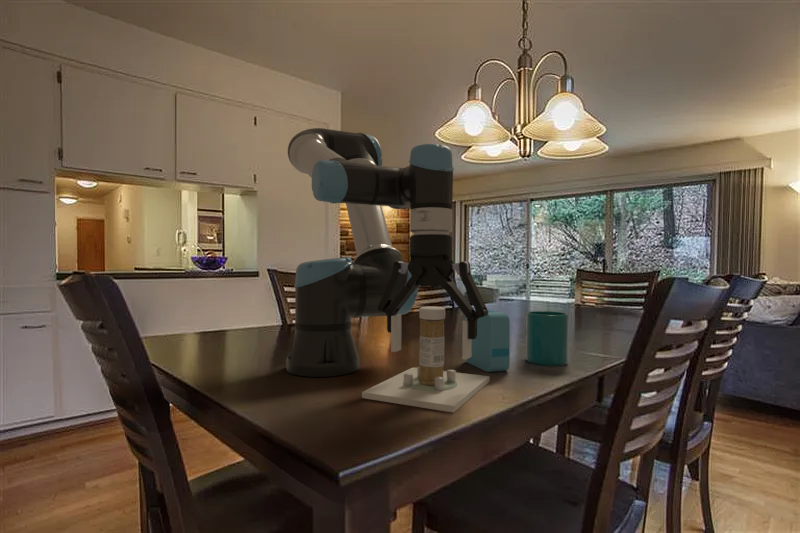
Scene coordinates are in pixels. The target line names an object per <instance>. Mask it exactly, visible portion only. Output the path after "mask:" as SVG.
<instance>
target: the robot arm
mask: <svg viewBox="0 0 800 533" xmlns="http://www.w3.org/2000/svg"><path fill="white" fill-rule="evenodd" d="M409 155H410V156H409V160H408V163H409V165H408V166H406V167H396V166H387V165H386V166H385V165H383V158H382V156H383V151H382V147H381V144H380V143H379V140H378V139H377V138H376V137H375V136H373V135H371V134H366V133H364V132H350V131H344V130H336V129H330V128H329V129H328V128H322V127H321V128H320V127H314V128H308V129H307V128H306V129H305V130H302V131H299V132H297V133H296V134H295V135H294V136H293V137H291V139H290V140H289V143H288V146H287V157H288V160H289V163H291V165H292V166H293V167H294V169H296V170H297V171H299V172H300V173H303V174H306V175H308V176H309V177H310V178H311V191H312V195H313V197H314V199H316V200H317V201H319V202H326V203H330V204H333V205H334V204H345V205H346V206H345V207H346V212H347V216H348V221H349V223H350V229H351V235H352V238H353V243H354V247H355V252H356V257H355V258H354V260H352V257H350V256H344V257H335V258H334V257H333V258H326V259H325V258H324V259H317V260H310V261H304V262H301V263H299V264H298V265H297V267H296V269H295V281H294V285H293V286H294V288H295V289H294V290H295V291H294V294H295V297H294V298H295V300H294V302H295V303H294V304H295V306H294V307H295V308H294V309H295V310H294V317H295V318H294V319H295V320H294V322H295V326H294V336H293V339H292V341H291V345H290V347H289V348H290V349H289V352H288V356H287V357H286V372H288V373H289V374H291V375H295V376H301V377H310V378H311V377H312V378H315V377H316V378H317V377H319V378H320V377H323V378H325V377H336V376H342V375H348V374H351V373H354V372H356V371H358V370H359V369H360V355H359V352H358V349H357V347H356V343H355V340H354V336H353V334H352V318H365V317H367V318H368V317H371V318H372V317H386V330H387V333H390V352H391V353H396V352H399V351H401V350H402V315H406V314H408V313H409V312H410V311H411V310H412V309H413V307H414V306H415V304H416V301H417V297H418V293H419V292H418V291H419V288H421V287H424V288H427V287H431V288H441V287H442V289H443V290H445V292H447V294H448V295H449V296H450V298H451V300H452V301H453V302H454V303H455V304H456V306H457V308H459V309H460V311H461V312H462V314H463V315H464V316H466V317H467V319H466V320H465V319H463V320H462V339H461V340H462V341H461V342H462V343H461V344H462V347H461V348H462V350H461V351H462V354H461V355H462V360H465V361H466V360H467V359H468V358H470V357H472V339H475V338H476V337H477V320H478V319H479V318H481V317H484V316H486V315H488V310H489V309H488V307H487V306H486V303H485V302H484V300H483V297H482V294H481V292H480V290H479V289H478V286H477V285H476V282H475V280H474V278H473V276H472V272H471V271H472V270H471V263H470V262H469V261H460V262H456V263H454V261H453V237H452V236H451V235H450V233H452V232H453V192H454V191H453V190H454V189H453V187H454V186H453V184H454V167H453V152H452V149H451V148H450V147H449V146H446V145H444V144H439V143H423V144H418V145H416V146H413V147H412V149H411V150H410V154H409ZM383 207H390V208H391V209H393V210H406V209H408V210H409V232H410V233H412V235H410V237H409V262H404V259H403V256H402V253H401V252H400V250H398V249H397V248H395V247H393V244H392V241H391V240H392V239H391V236H390V232H389V229H388V225H387V221H386V218H385V217H386V216H385V214H384V210H383ZM453 272H456V274H457V275H459V276H460V279H461V283H462V284H463V286H464V288H465V290H466V293H467V295H468V297H469V299H470V302H471V303H470V302H469V301H468V299H467V298H466V297H465V295H463V293H462V291H461V290H460V289H459V288H458V287H457V286H456V283H455V281H454V280H453V278H452V277H451V275H452V274H453ZM471 304H472V305H471ZM475 310H476V311H475Z"/></svg>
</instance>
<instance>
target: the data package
mask: <svg viewBox="0 0 800 533" xmlns="http://www.w3.org/2000/svg"><path fill="white" fill-rule="evenodd" d="M474 310H475V309H474ZM487 310H488V315H486V316H484V317H481V318H479V319H478V320H477V337H476V338H475V339H472V357H470V358H468V359H467V360H465V361H466V363H467V364H469V363H470V364H469V365H471V364H472V366H474V367H476V368H478V369H480V370H481V371H484V372H486V373H496V372H498V373H499V372H507V371H508V370H509V368H510V329H511V328H510V327H511V326H510V325H511V323H510V317H509V315H508V313H504V312H498V311H494V310H489V309H487ZM475 311H476V310H475ZM464 316H465V315H464ZM464 318H465V319H464V320H466V319H467V317H466V316H465V317H464Z"/></svg>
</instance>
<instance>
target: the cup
mask: <svg viewBox="0 0 800 533" xmlns="http://www.w3.org/2000/svg"><path fill="white" fill-rule="evenodd" d="M525 324H526V326H525V327H526V328H525V337H526V338H525V342H526V345H525V346H526V347H525V350H526V351H525V352H526V354H525V355H526V356H525V358H526V360H527V362H529V363H531V364H532V365H533V364H534V365H539V366H545V367H559V366H564V365H566V364H567V363H568V362H569V313H567V312H562V311H553V310H552V311H551V310H550V311H549V310H532V311H527V312H526V323H525Z"/></svg>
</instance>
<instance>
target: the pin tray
mask: <svg viewBox="0 0 800 533" xmlns="http://www.w3.org/2000/svg"><path fill="white" fill-rule="evenodd" d="M489 383H490V376H489V375H482V374H481V375H480V374H474V373H473V374H472V373H463V372H457V371H456V370H455V369H447V370H443V377H435V386H429V385H424V384H421V383H420V382H419V366H417V367H411V368H409V369H406V370H404V371H402V372H401V373H398V374H395V375H394V376H392V377H390V378H388V379H386V380H384V381H382V382H380V383H378V384H376V385H373V386H372V387H369V388H368V389H366V390H363V391H362V392H361V398H362V399H366V400H373V401H379V402H386V403H391V404H392V403H393V404H398V405H404V406H410V407H415V408H421V409H430V410H435V411H441V412H447V413H456V411H458V409H460V408H461V407H462V406H464V404H465V403H467V402H468V401H469V400H470V399H471V398H472V397H473V396H475V395H476V394H477V393H478V392H479V391H480V390H481V389H483V388H484V387H485V386H486V385H487V384H489Z"/></svg>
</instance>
